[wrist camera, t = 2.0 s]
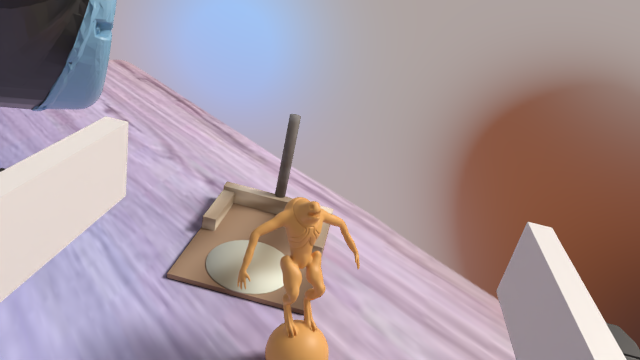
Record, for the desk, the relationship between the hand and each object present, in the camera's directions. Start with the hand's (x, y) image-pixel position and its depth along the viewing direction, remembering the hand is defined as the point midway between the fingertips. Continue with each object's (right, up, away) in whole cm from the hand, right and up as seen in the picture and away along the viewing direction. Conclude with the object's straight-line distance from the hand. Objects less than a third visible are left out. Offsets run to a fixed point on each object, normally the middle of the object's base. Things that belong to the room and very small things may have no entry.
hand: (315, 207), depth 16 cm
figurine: (-2, -11, +17) cm, 20 cm away
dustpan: (-5, -5, +28) cm, 29 cm away
